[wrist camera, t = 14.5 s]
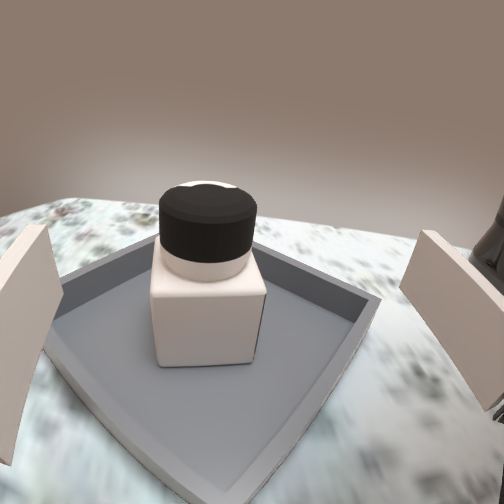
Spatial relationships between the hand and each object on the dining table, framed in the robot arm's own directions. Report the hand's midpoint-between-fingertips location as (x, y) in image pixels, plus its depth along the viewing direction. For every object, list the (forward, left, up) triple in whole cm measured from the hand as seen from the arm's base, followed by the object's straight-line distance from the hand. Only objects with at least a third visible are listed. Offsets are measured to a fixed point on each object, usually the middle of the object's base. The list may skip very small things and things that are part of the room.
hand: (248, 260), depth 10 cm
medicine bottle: (+7, -6, -13) cm, 17 cm away
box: (+7, -6, -14) cm, 17 cm away
